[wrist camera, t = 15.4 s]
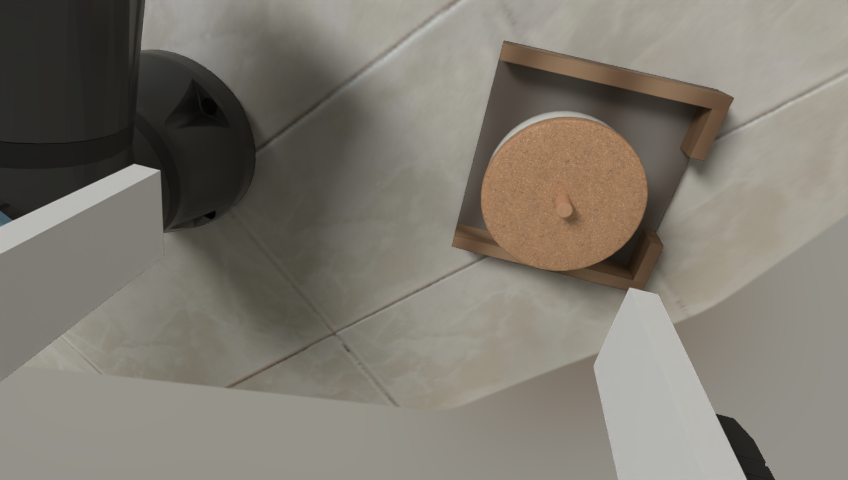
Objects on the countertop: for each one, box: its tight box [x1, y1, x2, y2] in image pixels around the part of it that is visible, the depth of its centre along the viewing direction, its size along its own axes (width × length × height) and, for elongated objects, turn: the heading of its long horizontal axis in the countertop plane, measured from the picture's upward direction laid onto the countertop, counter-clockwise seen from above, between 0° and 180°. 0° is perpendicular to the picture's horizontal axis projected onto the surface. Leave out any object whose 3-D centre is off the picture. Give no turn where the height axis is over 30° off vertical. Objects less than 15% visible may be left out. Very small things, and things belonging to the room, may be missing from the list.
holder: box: [452, 41, 734, 290], centre depth 40 cm, size 16×16×3 cm
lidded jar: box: [481, 111, 648, 271], centre depth 37 cm, size 11×11×9 cm
